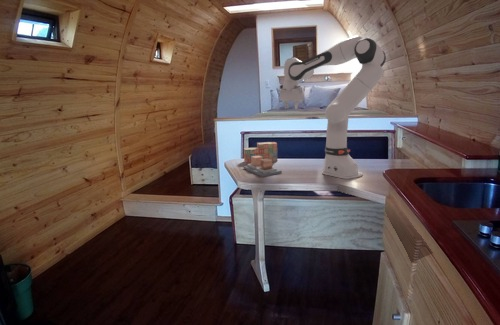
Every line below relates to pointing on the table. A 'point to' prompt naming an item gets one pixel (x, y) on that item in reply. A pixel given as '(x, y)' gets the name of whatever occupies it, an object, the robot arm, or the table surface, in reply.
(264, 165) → the terracotta block
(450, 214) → the table surface
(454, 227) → the table surface
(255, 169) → the assembly plate
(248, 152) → the stack of blocks
